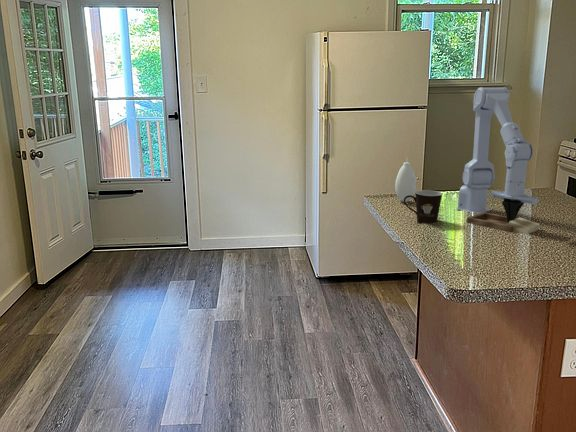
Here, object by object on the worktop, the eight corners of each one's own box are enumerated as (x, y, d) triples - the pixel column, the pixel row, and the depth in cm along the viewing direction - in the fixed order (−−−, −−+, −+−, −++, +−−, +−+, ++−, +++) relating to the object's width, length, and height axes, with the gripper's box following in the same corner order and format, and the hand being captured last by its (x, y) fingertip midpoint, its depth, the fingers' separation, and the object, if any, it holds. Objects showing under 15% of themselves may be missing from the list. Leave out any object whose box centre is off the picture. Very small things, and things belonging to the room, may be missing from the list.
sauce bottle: (416, 204, 206) (419, 157, 202) (396, 204, 206) (398, 157, 202) (412, 199, 214) (415, 154, 209) (392, 199, 214) (395, 154, 209)
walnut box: (466, 224, 179) (467, 217, 179) (483, 218, 186) (483, 212, 186) (510, 233, 168) (511, 227, 168) (526, 227, 176) (526, 220, 175)
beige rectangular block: (507, 228, 171) (509, 221, 170) (518, 224, 176) (520, 217, 175) (527, 235, 166) (529, 228, 166) (537, 230, 171) (539, 223, 171)
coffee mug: (444, 221, 182) (446, 192, 179) (432, 227, 176) (434, 197, 173) (414, 215, 190) (415, 187, 187) (401, 220, 184) (402, 191, 181)
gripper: (487, 179, 172) (483, 220, 176) (532, 186, 162) (527, 229, 166) (498, 176, 177) (494, 216, 181) (542, 183, 167) (537, 225, 170)
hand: (510, 222), depth 173 cm, fingers closed
